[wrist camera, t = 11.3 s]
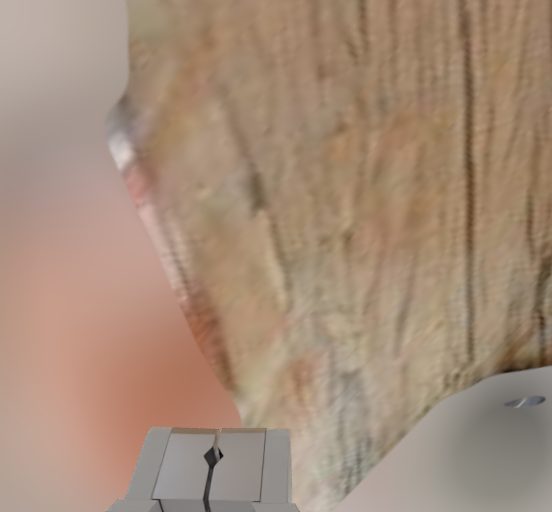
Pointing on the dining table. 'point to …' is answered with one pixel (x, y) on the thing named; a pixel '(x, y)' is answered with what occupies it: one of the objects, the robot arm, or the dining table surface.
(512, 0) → the dining table surface
